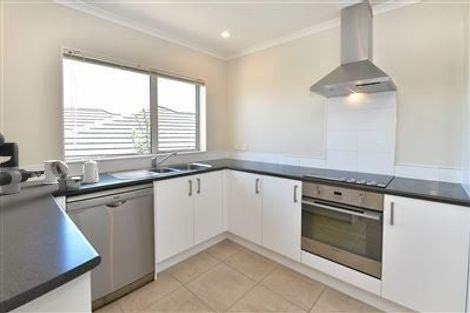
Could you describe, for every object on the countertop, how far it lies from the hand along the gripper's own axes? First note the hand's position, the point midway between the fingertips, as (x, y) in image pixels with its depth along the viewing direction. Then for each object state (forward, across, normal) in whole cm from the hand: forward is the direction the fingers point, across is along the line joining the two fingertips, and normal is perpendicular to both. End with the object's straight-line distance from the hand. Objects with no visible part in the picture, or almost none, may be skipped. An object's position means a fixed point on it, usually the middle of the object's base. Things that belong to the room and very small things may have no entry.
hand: (43, 172), depth 147 cm
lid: (+13, 0, 0) cm, 13 cm away
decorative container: (+40, +31, +15) cm, 52 cm away
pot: (+20, 0, +15) cm, 25 cm away
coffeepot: (+46, +3, +15) cm, 49 cm away
